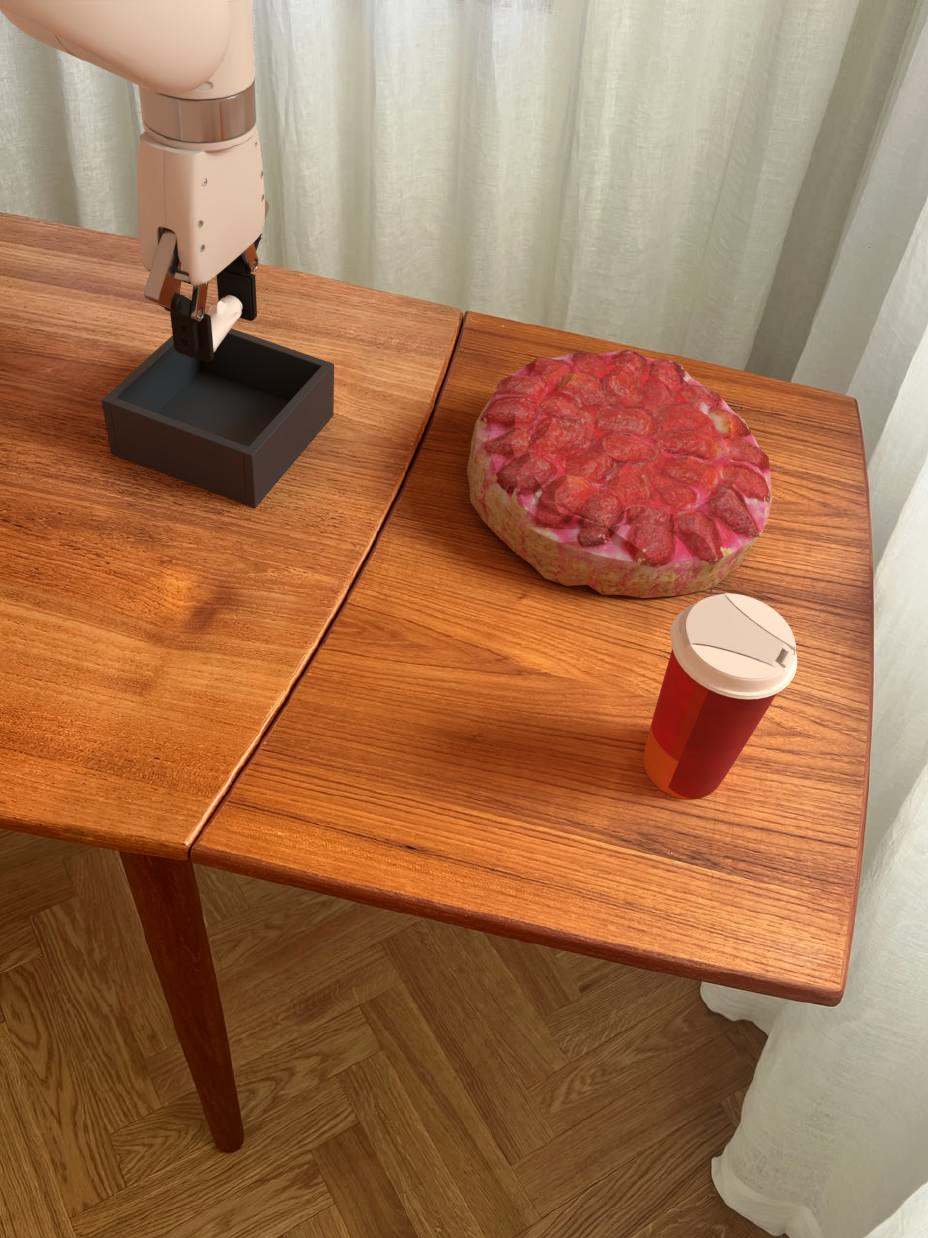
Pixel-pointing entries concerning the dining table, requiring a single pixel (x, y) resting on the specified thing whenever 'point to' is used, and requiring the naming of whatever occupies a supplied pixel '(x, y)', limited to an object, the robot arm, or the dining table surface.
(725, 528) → the cake
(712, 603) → the paper cup
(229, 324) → the small white plastic part
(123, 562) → the dining table surface
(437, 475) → the dining table surface
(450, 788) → the dining table surface
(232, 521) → the dining table surface
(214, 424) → the bin
